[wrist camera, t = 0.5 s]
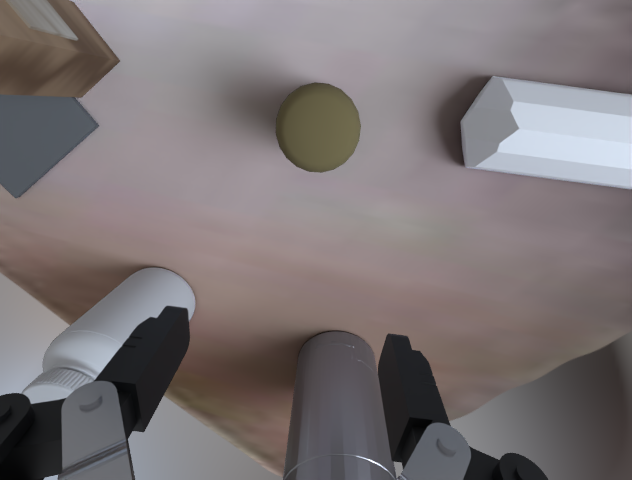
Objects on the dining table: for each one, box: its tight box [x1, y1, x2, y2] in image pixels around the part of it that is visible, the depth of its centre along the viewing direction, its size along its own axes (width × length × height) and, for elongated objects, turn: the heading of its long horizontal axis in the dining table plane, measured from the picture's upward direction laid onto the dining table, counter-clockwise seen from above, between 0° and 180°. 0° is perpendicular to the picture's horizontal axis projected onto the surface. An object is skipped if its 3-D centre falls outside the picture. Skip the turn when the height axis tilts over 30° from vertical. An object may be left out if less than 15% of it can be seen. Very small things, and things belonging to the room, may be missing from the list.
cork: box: [276, 83, 361, 172], centre depth 23 cm, size 6×6×11 cm
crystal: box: [460, 76, 632, 189], centre depth 26 cm, size 7×7×24 cm
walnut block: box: [0, 0, 120, 97], centre depth 22 cm, size 5×5×11 cm
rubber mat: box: [0, 94, 99, 198], centre depth 29 cm, size 12×10×1 cm
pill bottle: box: [22, 267, 195, 404], centre depth 29 cm, size 8×8×15 cm
